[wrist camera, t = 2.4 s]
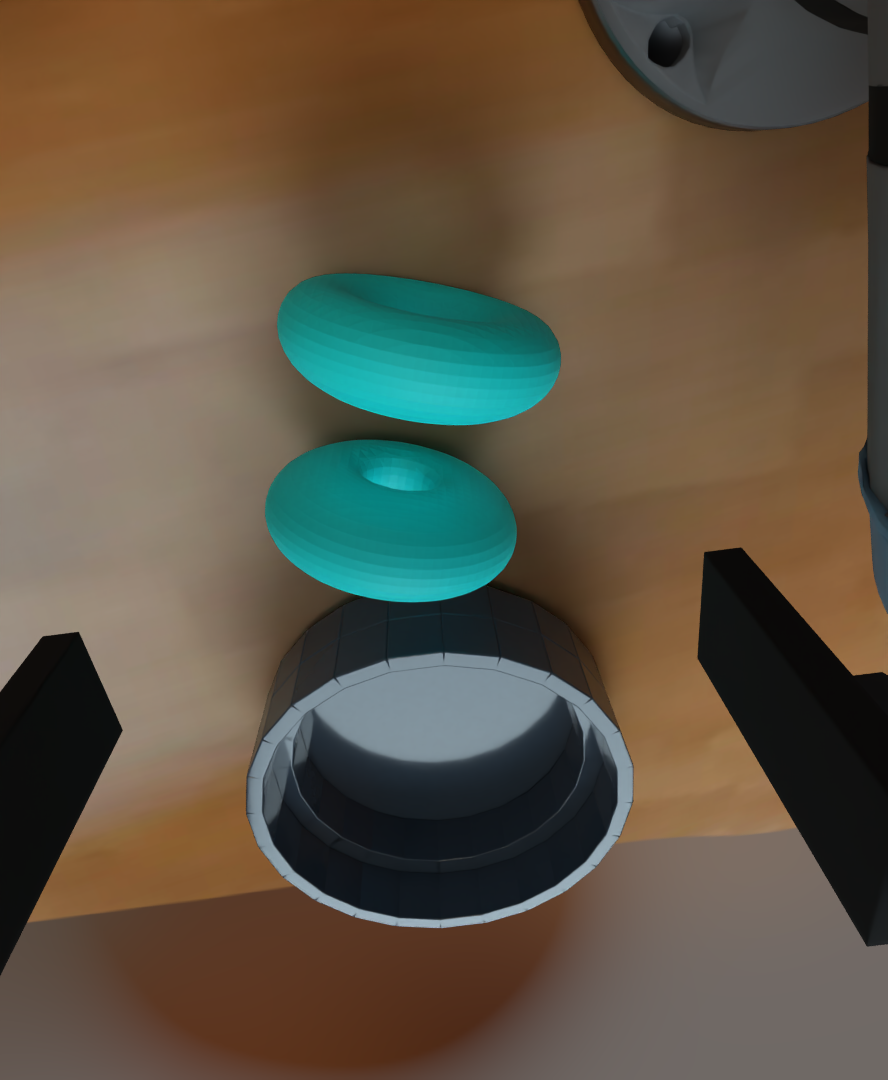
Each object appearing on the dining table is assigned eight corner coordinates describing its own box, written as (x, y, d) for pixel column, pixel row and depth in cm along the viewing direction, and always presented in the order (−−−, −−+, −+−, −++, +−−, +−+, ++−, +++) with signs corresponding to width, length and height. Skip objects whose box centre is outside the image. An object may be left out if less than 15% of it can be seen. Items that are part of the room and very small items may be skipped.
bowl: (598, 551, 35) (635, 627, 30) (603, 809, 44) (632, 906, 38) (231, 598, 36) (197, 682, 30) (308, 845, 44) (294, 946, 39)
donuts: (284, 482, 33) (238, 599, 24) (302, 254, 28) (253, 295, 19) (494, 511, 34) (523, 633, 25) (543, 297, 29) (601, 355, 21)
